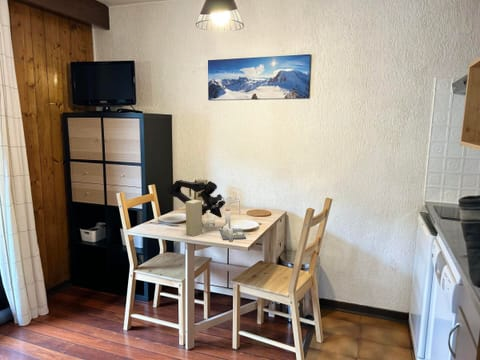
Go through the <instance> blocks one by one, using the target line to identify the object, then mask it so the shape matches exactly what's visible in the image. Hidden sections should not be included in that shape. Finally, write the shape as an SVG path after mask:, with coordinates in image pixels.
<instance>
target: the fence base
mask: <svg viewBox="0 0 480 360" xmlns="http://www.w3.org/2000/svg"><path fill="white" fill-rule="evenodd" d="M233 229H234V228H232V227H231V228H229V226H228V225H223V227H222V230H223V236H225V237H227V238H228V240H227V241H228V242H230V243H231V242H233V241H234V240H233Z"/></svg>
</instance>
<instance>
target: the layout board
mask: <svg viewBox="0 0 480 360" xmlns="http://www.w3.org/2000/svg"><path fill="white" fill-rule="evenodd" d="M219 233H220V235H221V238H222V241H229V240H228V238H227V237H225V236H223V229H219ZM234 239H235V240H245V239H247V236H246V234H245V233H244V231H243V229H242V230H233V241H234Z"/></svg>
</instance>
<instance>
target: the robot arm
mask: <svg viewBox="0 0 480 360" xmlns="http://www.w3.org/2000/svg"><path fill="white" fill-rule="evenodd" d="M182 188H185V189H190V190H192V191H193V192H196V193H197V194H198V195H197V198H201V199H202V201H204V202H203V203H202V217H203V216H204V215H205V214H207V211H209V214H212V215H214V216H216V217H217V218H219V219H221V218H222V217H223V215H222V213H221V209H222V208H223V206H224V205H226V201H225V200H222V199H223V196H222V195H221V193H219V194H217V195H216V196H212V194H213V193H214V192H215V191H216V190H217V189H218V185H217V184H216V183H215V182H213V181H212V180H209V181H208V182H207V183H206V184H205V183H204V181H197V182H192V181H187V180H182V179H178V180H176V181H174V183H172V184H171V185H170V186H169V187H167V189H166V190H167V194H168V196H171V197H174V198H177V199H178V200H180V201H181V202H182V203H183V204H185V205H186V202H187V201H191V200H192V199H191V198H190V197H189V196H187V195H186V194H184V192H182ZM202 227H203V224H202Z"/></svg>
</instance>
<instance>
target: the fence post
mask: <svg viewBox="0 0 480 360" xmlns="http://www.w3.org/2000/svg"><path fill="white" fill-rule="evenodd" d="M224 214H225V215H224V217H225V218H224V219H225V223H224V224H225V225H228V226H229V228H232V227H231V209H230V208H229V207H226V208H225V212H224ZM225 225H224V226H225Z"/></svg>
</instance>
